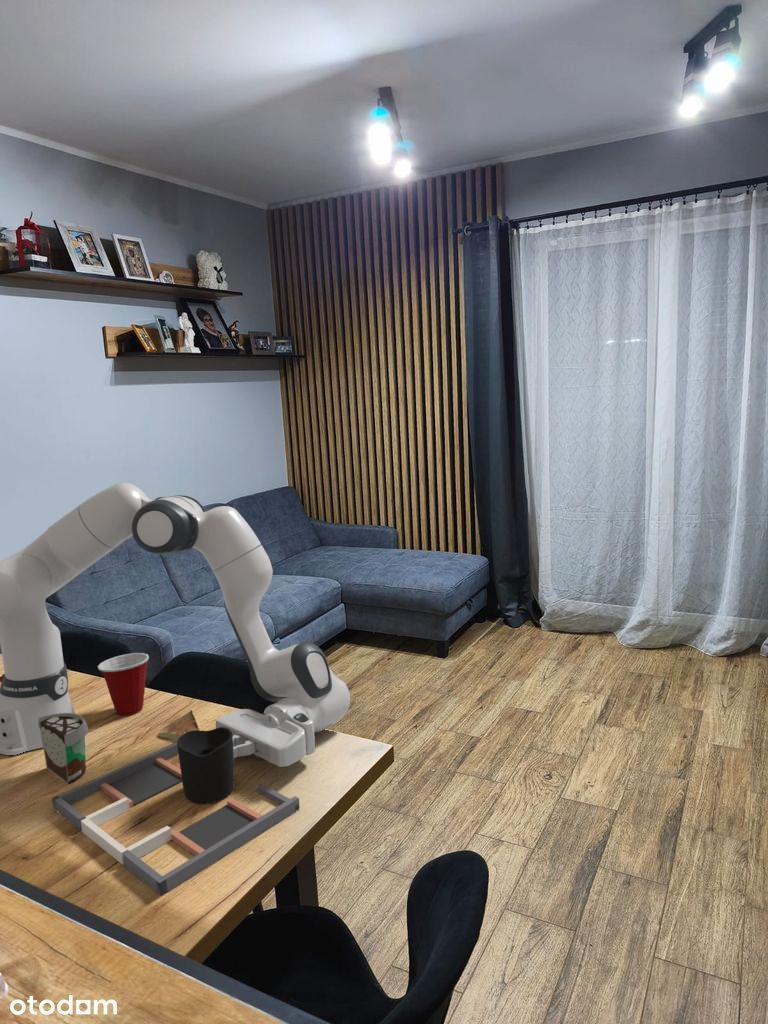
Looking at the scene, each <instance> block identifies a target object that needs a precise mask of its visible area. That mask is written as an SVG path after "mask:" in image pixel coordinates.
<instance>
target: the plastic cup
mask: <svg viewBox="0 0 768 1024" xmlns="http://www.w3.org/2000/svg"><path fill="white" fill-rule="evenodd" d="M149 659H150V656H149V654H147V653H143V652H134V653H133V652H132V653H126V654H122V655H117V656H114V657H110V658H108V659H105V660H104V661H102V662H100V663H99V664H98V665H97V669H98V671H100V672H101V674H102V676H103V679H104V681H105V683H106V686H107V689H108V692H109V696H110V699H111V701H112V705H113V708H114V712H115V713H116V715H118V716H123V717H125V716H131V715H135V714H137V713H139V712H141V711H142V709H144V700H145V699H144V697H145V692H146V691H145V690H146V689H145V688H146V677H147V676H146V675H147V674H146V673H147V666H148V661H149Z"/></svg>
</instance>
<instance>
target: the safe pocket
mask: <svg viewBox="0 0 768 1024" xmlns="http://www.w3.org/2000/svg"><path fill="white" fill-rule="evenodd" d="M128 811H130V808H129V801H128V799H127V798H126V797H125V798H123V799H121V800H119V801H116V800H115V801H114V802H113V803H111V804H109V805H107V806H104V807H103V808H100V809H98V810H96V811H94V812H92V813H90V814H88V815H85V819H83V820H81V827H82V830H81V832H82V833H83V834H84V835H85V836H86V837H87V838H88V839H90V840H91V841H93V842H94V843H95V844H96V845H98V846H99V848H101V849H102V850H104V851H105V852H106V853H107V854H109V855H110V856H111V857H113V858H114V859H115V860H116V861H117V862H118V863H120V864H121V865H122V866H125V865H124V856H123V854H125V853H126V852H128V851H130V852H132V853H133V854H134V855H136V856H137V857H138V858H139V859H141V858H142V857H143V856H146V855H147V854H149V853H151V852H153V851H155V850H156V849H159V848H160V847H162V846H164V845H165V844H166V843H168V842H170V841H173V840H172V836H171V832H172V827H170V826H168V825H166V826H164V827H162V828H160V829H159V830H157V831H155V832H153V833H152V834H151V833H150V834H149V835H147V836H146V837H144V838H142V839H140V840H138V841H136V842H135V843H133V844H131V845H129V846H128V847H125V846H124V845H123V844H121V843H120V842H119V841H118V840H116V839H115V838H114V837H112V836H111V835H110V834H108V833H107V832H106V831H104V830H103V829H102V828H100V827H99V826H100V825H103V824H105V823H107V822H109V821H110V820H112V819H114V818H116V817H118V816H120V815H123V814H124V813H127V812H128Z"/></svg>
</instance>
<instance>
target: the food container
mask: <svg viewBox="0 0 768 1024" xmlns="http://www.w3.org/2000/svg"><path fill="white" fill-rule="evenodd" d="M38 719H39V721H38V725H39V728H40V731H41V737H42V743H43V755H44V759H45V766H46V769H47V768H48V769H49V770H48V769H47V770H48V771H49V772H51V771H52V772H53V773H54V774H53V775H55V776H56V775H57V776H58V778H59V779H60V780H61V781H62V780H63V781H62V782H64V783H65V784H66V785H67V786H70V785H72V784H73V783H76V782H77V781H79V780H80V779H81V778H82V777H83V776H84V775H85V773H86V771H87V764H86V763H87V761H86V735H87V734H89V733H88V732H89V727H88V724H87V722H86V720H85V719H84V717H83V716H82V715H80V714H78V713H75V714H74V713H58V714H52V715H47V716H44V717H40V718H38ZM52 772H51V773H52ZM57 776H56V777H57ZM69 784H70V785H69Z"/></svg>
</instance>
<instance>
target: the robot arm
mask: <svg viewBox="0 0 768 1024" xmlns="http://www.w3.org/2000/svg"><path fill="white" fill-rule="evenodd" d="M132 537H133V538H134V541H135V542H136V543H137V545H138V546H139V547H140V549H142V550H144V551H146V552H147V553H148V552H149V553H150V554H156V555H169V554H173V553H179V552H183V551H188V550H190V549H192V548H193V549H195V550H197V551H198V552H200V553H201V554H202V556H203V557H204V558H205V560H206V562H207V564H208V566H209V567H210V569H211V571H213V574H214V576H215V578H216V580H217V582H218V585H219V587H220V590H221V592H222V596H223V603H224V604H223V606H224V609H225V613H226V615H227V617H228V619H229V623H230V626H231V627H232V631H234V634H235V636H236V639H237V641H238V643H239V645H240V648H241V649H242V652H243V655H244V657H245V659H246V663H247V664H248V665H247V666H248V669H249V675H250V679H251V684H252V686H253V688H254V690H255V692H256V693H257V694H258V695H259V697H261V698H262V699H264V700H265V701H268V702H275V703H273V704H270V705H268V706H267V707H266V708H265V709H264V712H263V713H259V712H258V711H256V710H252V709H250V708H242V709H239V710H235V711H231V712H229V713H226V714H224V715H221V716H219V717H218V718H216V721H215V729H216V728H220V727H225V728H228V729H230V730H231V732H232V734H233V758H234V759H236V758H238V757H244V756H245V757H247V756H250V755H252V754H253V755H254V756H256V757H258V758H261V759H262V760H264V761H267V762H268V763H271V764H273V765H275V766H277V767H279V768H280V767H283V768H285V767H289V766H291V765H293V764H295V763H297V762H299V761H300V760H302V759H303V758H305V757H306V756H310V755H311V754H312V755H313V754H314V753H315V744H316V741H315V733H320V732H321V731H323V730H326V729H327V728H329V727H331V726H332V725H334V724H335V723H337V722H338V721H339V720H341V719H342V718H343V717H344V716H345V715H346V714H347V712H348V710H349V707H350V704H351V694H350V689H349V688H348V686H347V684H346V683H345V682H344V681H343V680H341V679H340V678H338V677H337V676H336V675H335V674H334V673H333V671H332V669H331V668H330V667H329V663H328V660H327V657H326V655H325V653H324V652H323V650H322V649H321V648H320V647H319V646H318V645H316V644H315V643H313V642H309V641H304V642H301V643H297V644H293V645H291V646H289V647H287V648H283V649H281V650H280V649H277V648H276V647H275V646H274V645H273V643H272V641H271V639H270V637H269V634H268V632H267V629H266V627H265V625H264V622H263V620H262V618H261V614H260V604H261V601H262V599H263V597H264V595H265V593H267V591H268V590H269V587H270V585H271V582H272V580H273V573H274V571H273V566H272V562H271V560H270V556H269V555H268V554H267V552H266V549H264V546H263V545H262V543H261V542H260V540H259V538H258V537H257V535H256V534H255V531H254V530H253V529H252V527H251V526H250V524H249V523H248V522H247V521H246V520H245V519H244V517H243V516H242V515H241V514H240V513H239V512H238V510H237V509H235V508H234V507H231V506H229V505H225V506H224V505H223V506H222V505H221V506H216V507H213V508H211V509H209V510H207V511H206V509H205V507H204V506H203V505H202V504H201V502H199V500H197V499H195V498H193V497H191V496H188V495H179V494H178V495H169V496H161V497H157V498H155V499H151V498H150V497H148V496H147V494H145V492H144V491H143V490H142V489H141V488H140V487H139V486H136V485H135V484H133V483H131V482H123V481H122V482H118V483H116V484H113V485H111V486H108V487H106V488H105V489H102V490H101V491H99V492H98V493H96V494H94V495H93V496H91V497H89V498H88V499H86V500H85V501H84V502H81V504H79V505H78V506H76V507H75V508H73V509H72V510H70V511H69V512H68V513H67V514H66V515H64V516H62V517H61V518H60V519H58V520H57V521H56V522H54V523H53V524H52V525H50V526H49V527H48V528H47V529H46V530H45V531H44V532H43V533H42V534H41V535H39V537H37V538H36V539H35V540H33V541H32V542H31V543H30V544H28V545H27V546H26V547H25V548H23V549H21V550H19V551H18V552H16V553H14V554H13V555H10V556H9V557H7V558H4V559H2V560H0V650H1V657H2V663H3V671H4V673H2V674H1V676H0V683H1V684H0V754H2V755H6V756H9V755H14V756H18V755H21V754H23V752H24V753H26V751H27V752H29V751H32V750H37V749H42V748H43V743H42V737H41V731H40V728H39V725H38V721H39V719H38V718H40V717H44V716H47V715H52V714H58V713H74V714H76V712H75V710H74V707H73V704H72V700H71V696H70V692H69V689H68V688H69V676H68V668H67V664H66V663H65V661H64V655H63V647H62V639H61V630H60V629H59V627H57V625H55V624H54V623H53V622H52V620H51V617H50V615H49V612H48V610H47V607H46V599H47V598H49V597H50V596H51V595H53V594H54V593H56V592H57V591H59V590H60V589H61V588H63V587H64V586H66V585H67V584H69V582H71V581H72V580H74V579H75V578H76V577H78V576H79V575H81V574H82V573H83V572H84V571H86V570H87V569H89V567H91V566H93V565H95V563H97V562H98V561H99V560H101V559H102V558H104V557H105V556H106V555H108V554H109V553H111V552H112V551H113V550H115V549H116V548H118V547H119V546H120V545H122V543H124V542H126V540H127V541H128V539H130V538H132ZM321 729H323V730H321ZM20 753H21V754H20ZM17 754H18V755H17Z"/></svg>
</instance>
